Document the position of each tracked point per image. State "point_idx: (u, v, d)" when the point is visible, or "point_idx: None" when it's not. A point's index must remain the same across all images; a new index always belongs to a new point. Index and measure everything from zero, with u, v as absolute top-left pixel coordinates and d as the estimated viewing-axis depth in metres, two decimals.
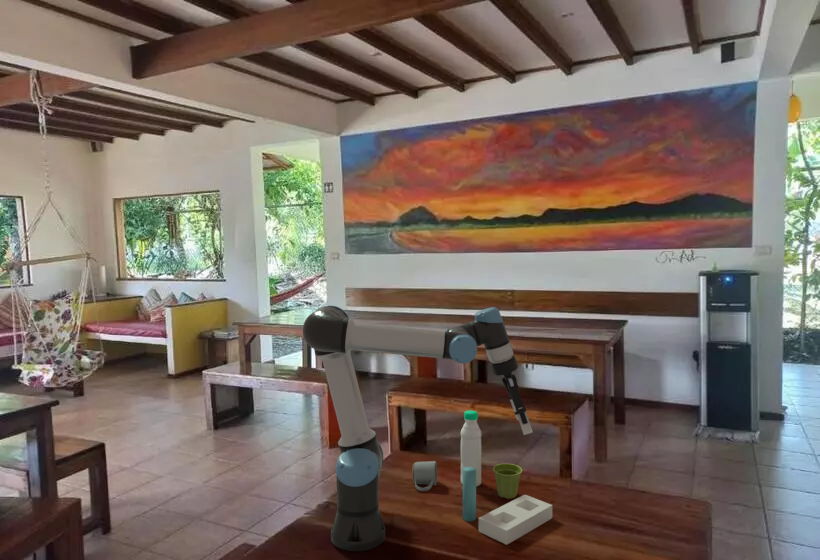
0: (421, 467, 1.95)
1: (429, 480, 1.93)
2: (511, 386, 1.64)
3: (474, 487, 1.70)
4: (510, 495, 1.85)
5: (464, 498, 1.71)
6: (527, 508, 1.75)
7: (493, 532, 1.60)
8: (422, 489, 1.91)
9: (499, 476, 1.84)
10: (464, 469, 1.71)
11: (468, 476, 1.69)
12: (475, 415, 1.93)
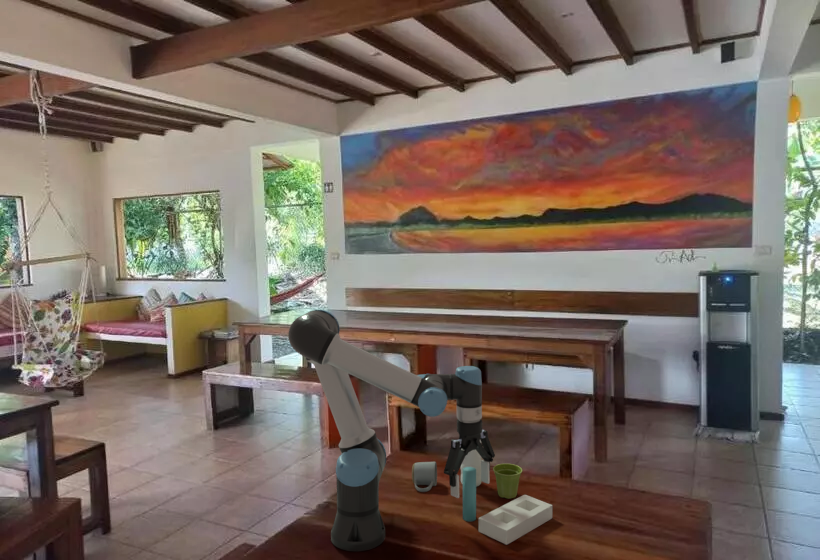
0: (421, 468, 1.94)
1: (429, 481, 1.93)
2: (453, 447, 1.66)
3: (474, 487, 1.70)
4: (510, 495, 1.85)
5: (464, 498, 1.71)
6: (527, 508, 1.75)
7: (493, 532, 1.60)
8: (422, 490, 1.90)
9: (499, 476, 1.84)
10: (464, 469, 1.71)
11: (468, 476, 1.69)
12: None
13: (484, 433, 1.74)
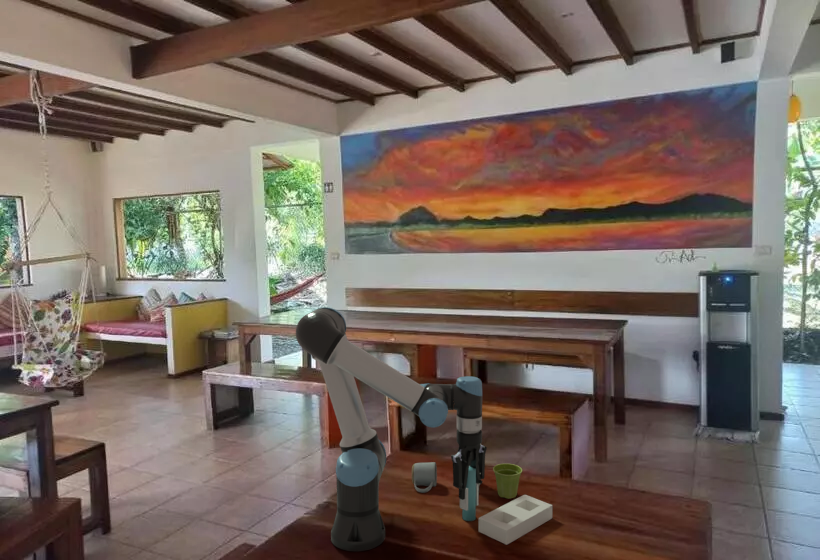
0: (420, 468, 1.94)
1: (429, 481, 1.92)
2: (455, 462, 1.67)
3: (474, 487, 1.70)
4: (510, 495, 1.85)
5: None
6: (527, 508, 1.75)
7: (493, 532, 1.60)
8: (422, 490, 1.90)
9: (499, 476, 1.84)
10: None
11: (468, 476, 1.69)
12: None
13: (483, 448, 1.74)
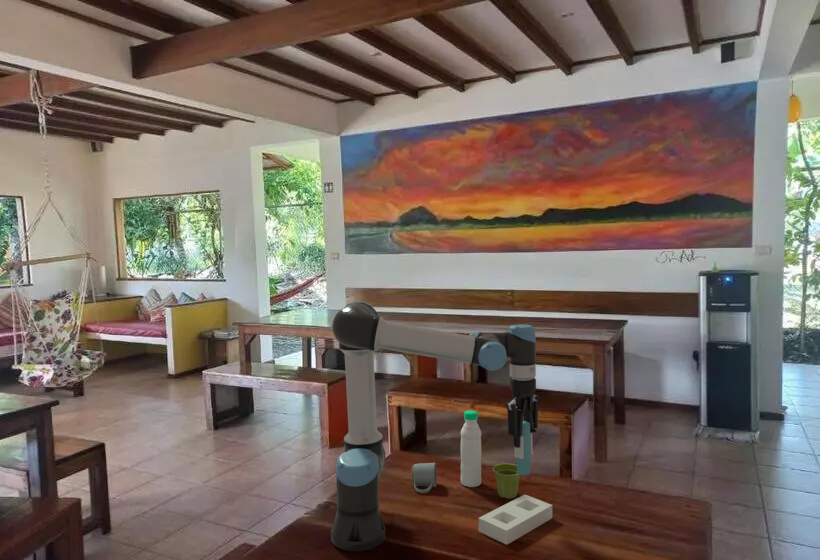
0: (420, 469, 1.93)
1: (428, 482, 1.92)
2: (510, 409, 1.66)
3: (528, 440, 1.69)
4: (510, 495, 1.85)
5: None
6: (527, 508, 1.75)
7: (493, 532, 1.60)
8: (421, 491, 1.89)
9: (499, 476, 1.84)
10: None
11: (522, 429, 1.68)
12: (475, 415, 1.93)
13: (536, 397, 1.72)
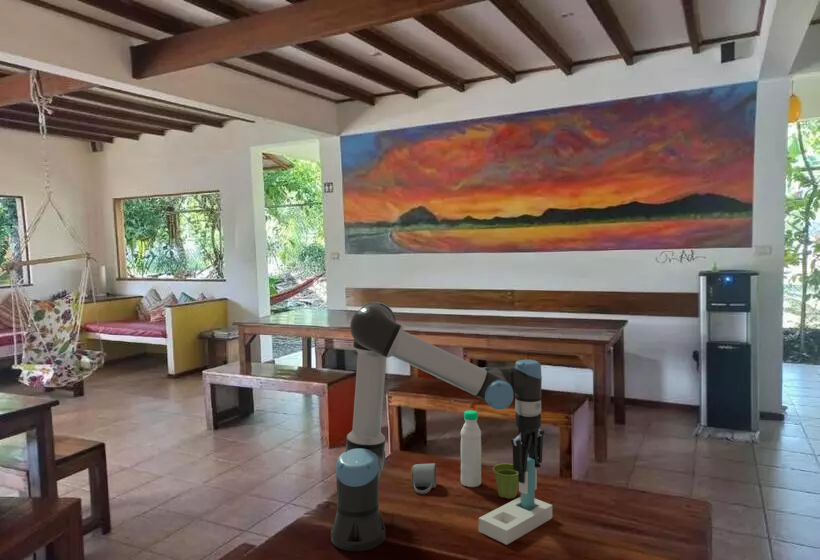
0: (420, 470, 1.93)
1: (428, 482, 1.91)
2: (515, 445, 1.66)
3: (533, 477, 1.70)
4: (510, 495, 1.85)
5: None
6: None
7: (493, 532, 1.60)
8: (421, 492, 1.89)
9: (499, 476, 1.84)
10: None
11: (527, 466, 1.69)
12: (475, 415, 1.93)
13: (541, 432, 1.73)
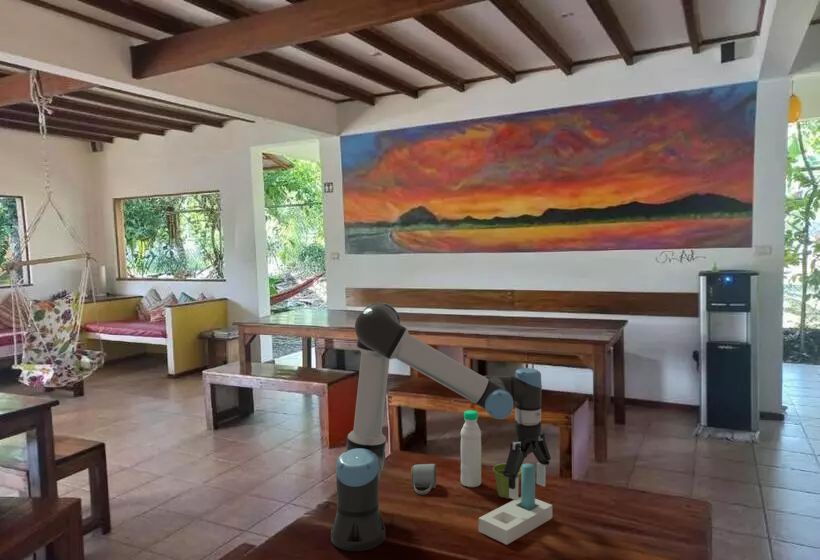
0: (420, 470, 1.92)
1: (428, 483, 1.91)
2: (513, 449, 1.66)
3: (533, 484, 1.70)
4: None
5: (523, 495, 1.70)
6: None
7: (493, 532, 1.60)
8: (421, 492, 1.88)
9: (499, 476, 1.84)
10: (523, 466, 1.71)
11: (528, 473, 1.69)
12: (475, 415, 1.93)
13: (541, 436, 1.73)
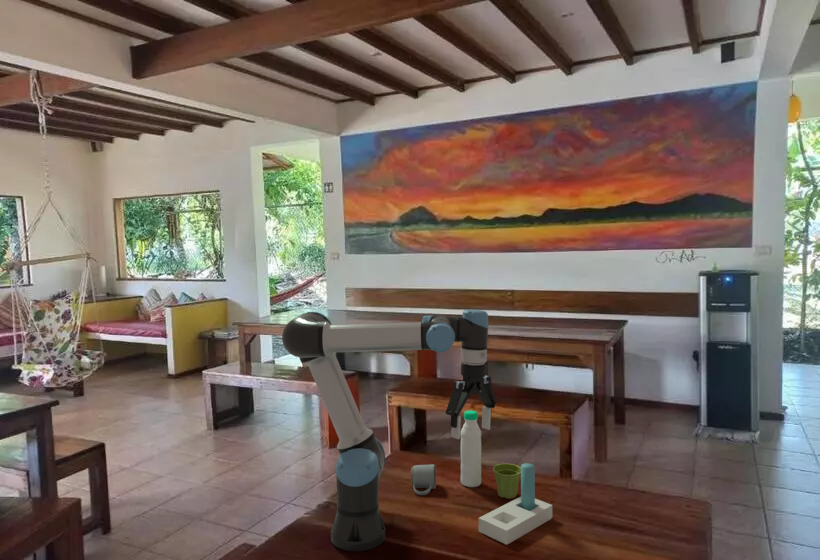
0: (419, 471, 1.92)
1: (428, 484, 1.90)
2: (456, 388, 1.66)
3: (533, 483, 1.70)
4: (510, 495, 1.85)
5: (523, 495, 1.70)
6: None
7: (493, 532, 1.60)
8: (421, 493, 1.88)
9: (499, 476, 1.84)
10: (523, 466, 1.71)
11: (527, 473, 1.69)
12: (475, 415, 1.93)
13: (487, 378, 1.73)
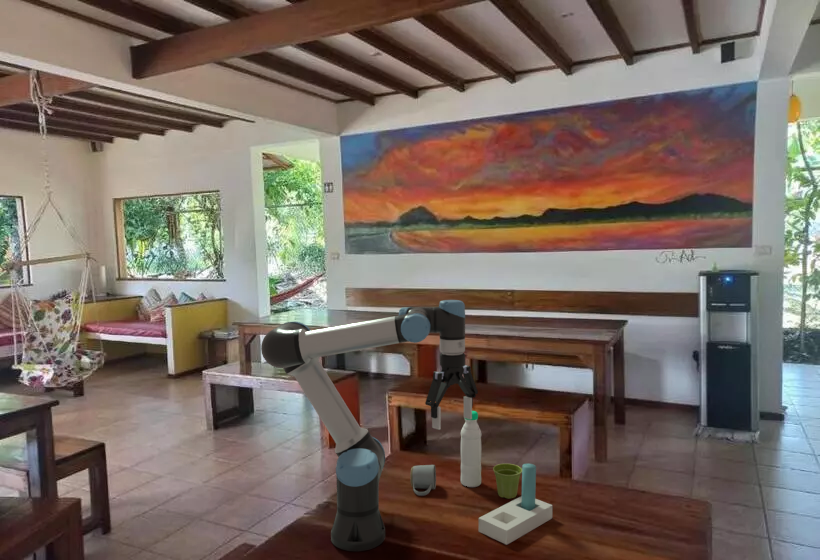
0: (419, 471, 1.91)
1: (428, 484, 1.90)
2: (435, 378, 1.66)
3: (534, 484, 1.70)
4: (510, 495, 1.85)
5: (523, 495, 1.70)
6: None
7: (493, 532, 1.60)
8: (420, 493, 1.87)
9: (499, 476, 1.84)
10: (524, 466, 1.70)
11: (529, 473, 1.69)
12: (475, 415, 1.93)
13: (467, 368, 1.73)
